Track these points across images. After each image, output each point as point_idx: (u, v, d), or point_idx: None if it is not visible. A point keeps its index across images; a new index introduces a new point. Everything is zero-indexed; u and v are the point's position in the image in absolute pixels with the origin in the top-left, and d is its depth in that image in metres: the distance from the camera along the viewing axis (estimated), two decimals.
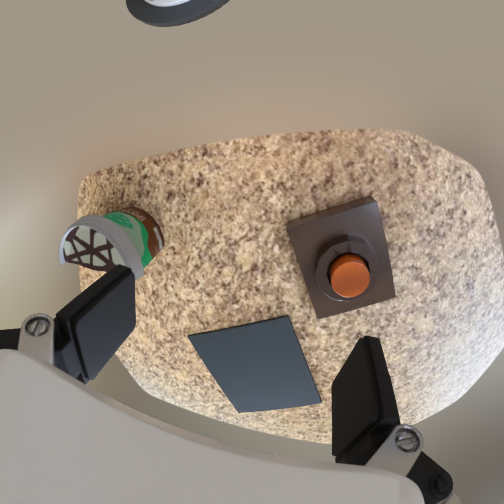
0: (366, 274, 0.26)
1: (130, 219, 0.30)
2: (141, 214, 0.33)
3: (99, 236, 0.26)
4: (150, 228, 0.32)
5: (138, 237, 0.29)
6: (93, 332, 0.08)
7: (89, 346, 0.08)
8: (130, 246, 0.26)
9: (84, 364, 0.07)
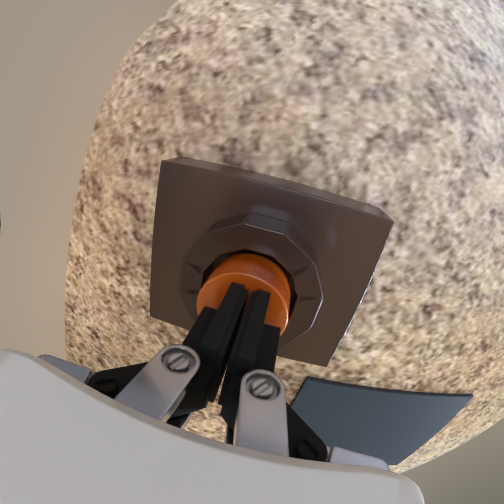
0: (245, 280, 0.11)
1: None
2: None
3: None
4: None
5: None
6: (226, 355, 0.09)
7: (222, 370, 0.08)
8: None
9: (215, 388, 0.08)
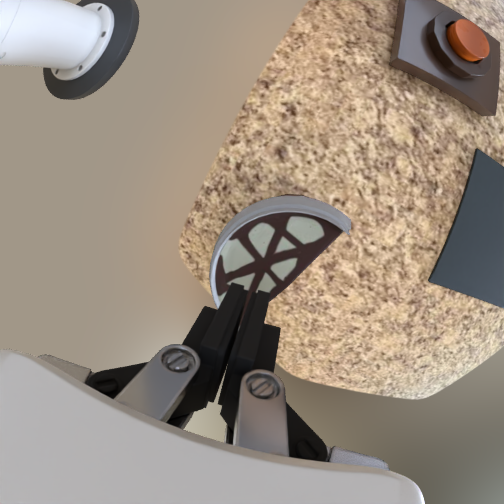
0: (472, 24, 0.10)
1: None
2: None
3: (257, 233, 0.18)
4: None
5: None
6: (226, 355, 0.09)
7: (222, 370, 0.08)
8: (305, 199, 0.18)
9: (215, 388, 0.08)
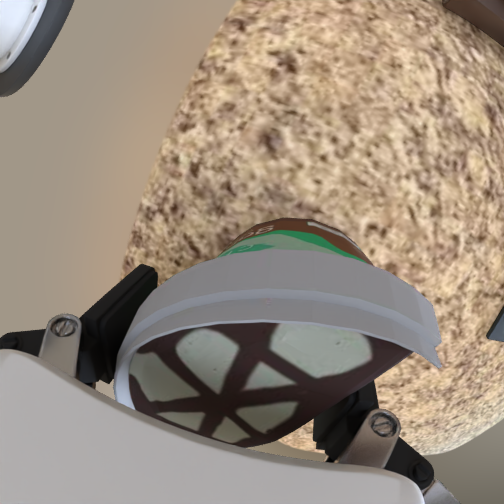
0: None
1: (244, 244, 0.11)
2: (257, 228, 0.13)
3: (197, 349, 0.07)
4: (303, 227, 0.12)
5: (307, 248, 0.09)
6: (119, 331, 0.08)
7: (115, 345, 0.08)
8: (327, 265, 0.06)
9: (110, 364, 0.08)
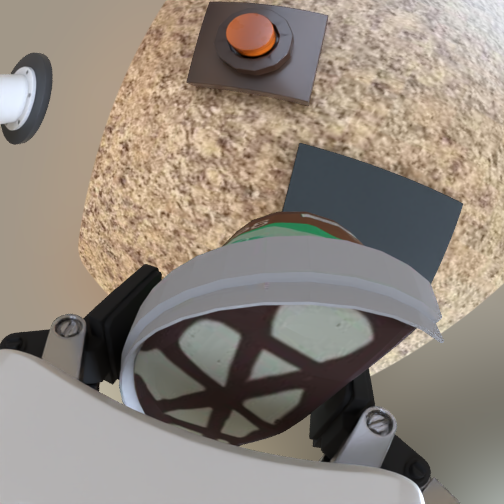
0: (252, 15, 0.16)
1: (241, 238, 0.11)
2: (253, 223, 0.14)
3: (199, 342, 0.07)
4: (298, 218, 0.12)
5: None
6: (124, 331, 0.08)
7: (120, 345, 0.08)
8: (321, 248, 0.06)
9: (114, 364, 0.08)
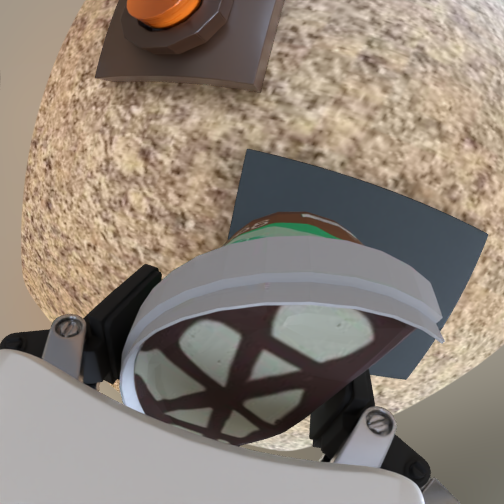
0: None
1: (241, 238, 0.11)
2: (253, 223, 0.14)
3: (199, 342, 0.07)
4: (298, 218, 0.12)
5: None
6: (124, 332, 0.08)
7: (120, 346, 0.08)
8: (321, 248, 0.06)
9: (114, 364, 0.08)
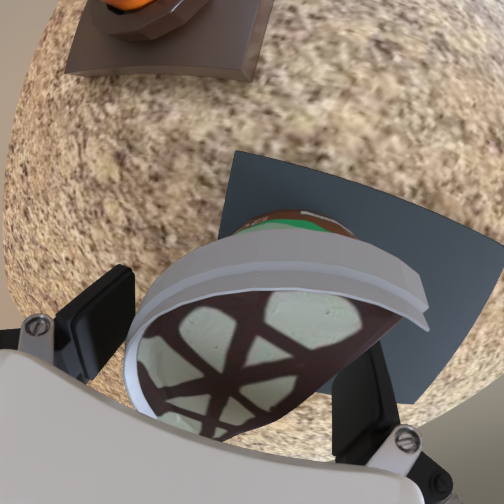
0: None
1: (240, 234, 0.11)
2: (253, 220, 0.14)
3: (198, 328, 0.07)
4: (296, 215, 0.13)
5: None
6: (93, 332, 0.08)
7: (89, 346, 0.08)
8: (311, 240, 0.07)
9: (84, 364, 0.07)
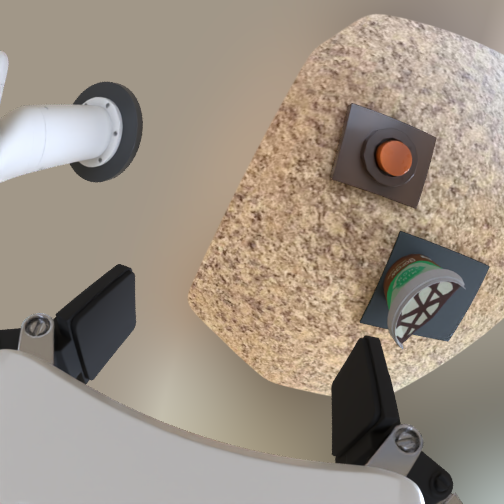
0: (399, 144, 0.25)
1: (413, 266, 0.32)
2: (407, 259, 0.34)
3: (423, 292, 0.28)
4: (422, 258, 0.33)
5: (433, 266, 0.30)
6: (93, 332, 0.08)
7: (89, 346, 0.08)
8: (445, 271, 0.27)
9: (84, 364, 0.07)
